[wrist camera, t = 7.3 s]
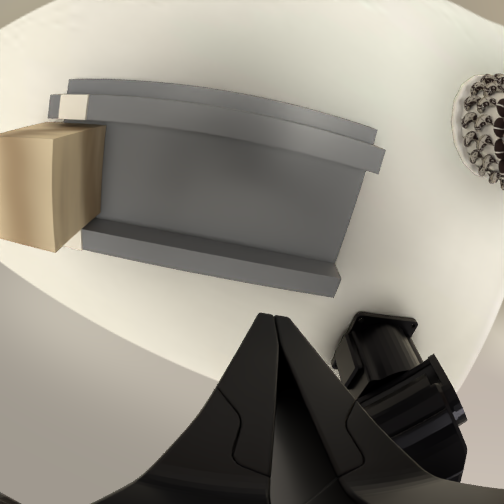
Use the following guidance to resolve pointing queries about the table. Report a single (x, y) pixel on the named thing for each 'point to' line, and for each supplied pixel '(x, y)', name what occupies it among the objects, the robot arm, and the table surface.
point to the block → (49, 182)
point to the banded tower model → (481, 126)
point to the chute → (221, 181)
